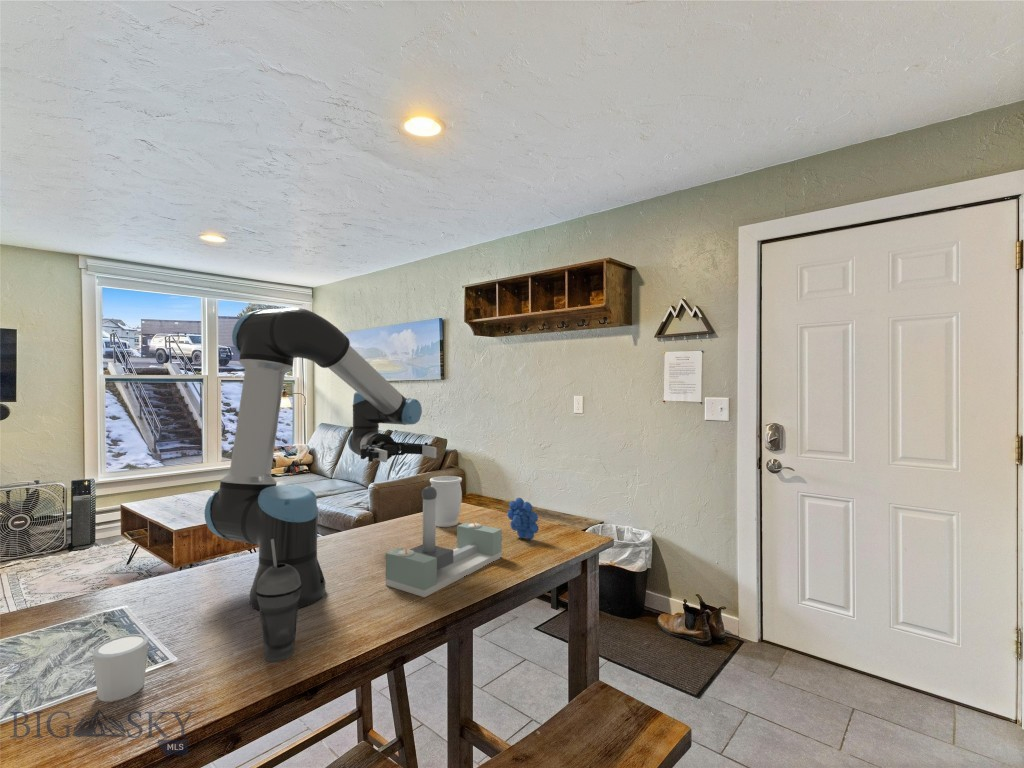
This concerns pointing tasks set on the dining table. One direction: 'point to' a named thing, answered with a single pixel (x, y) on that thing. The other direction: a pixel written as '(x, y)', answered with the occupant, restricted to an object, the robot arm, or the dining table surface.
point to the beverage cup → (278, 608)
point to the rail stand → (425, 579)
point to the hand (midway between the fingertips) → (411, 454)
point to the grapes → (523, 518)
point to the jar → (447, 499)
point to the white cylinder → (120, 666)
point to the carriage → (432, 531)
